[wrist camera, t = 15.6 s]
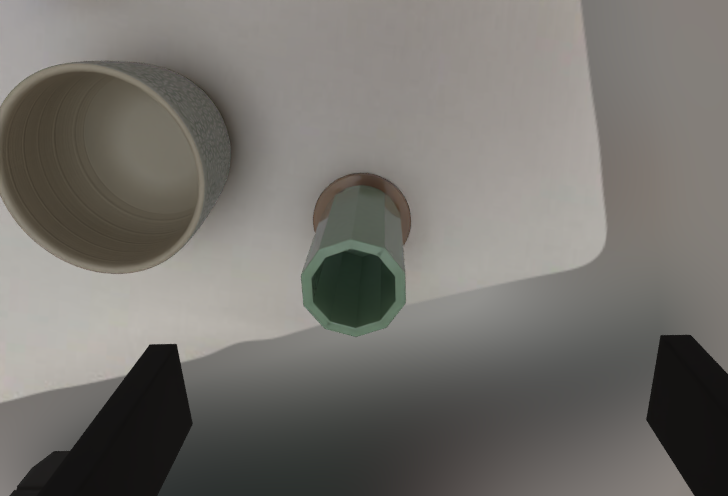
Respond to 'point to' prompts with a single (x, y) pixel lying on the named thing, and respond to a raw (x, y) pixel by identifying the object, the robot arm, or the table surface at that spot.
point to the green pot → (356, 263)
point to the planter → (111, 162)
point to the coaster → (367, 181)
